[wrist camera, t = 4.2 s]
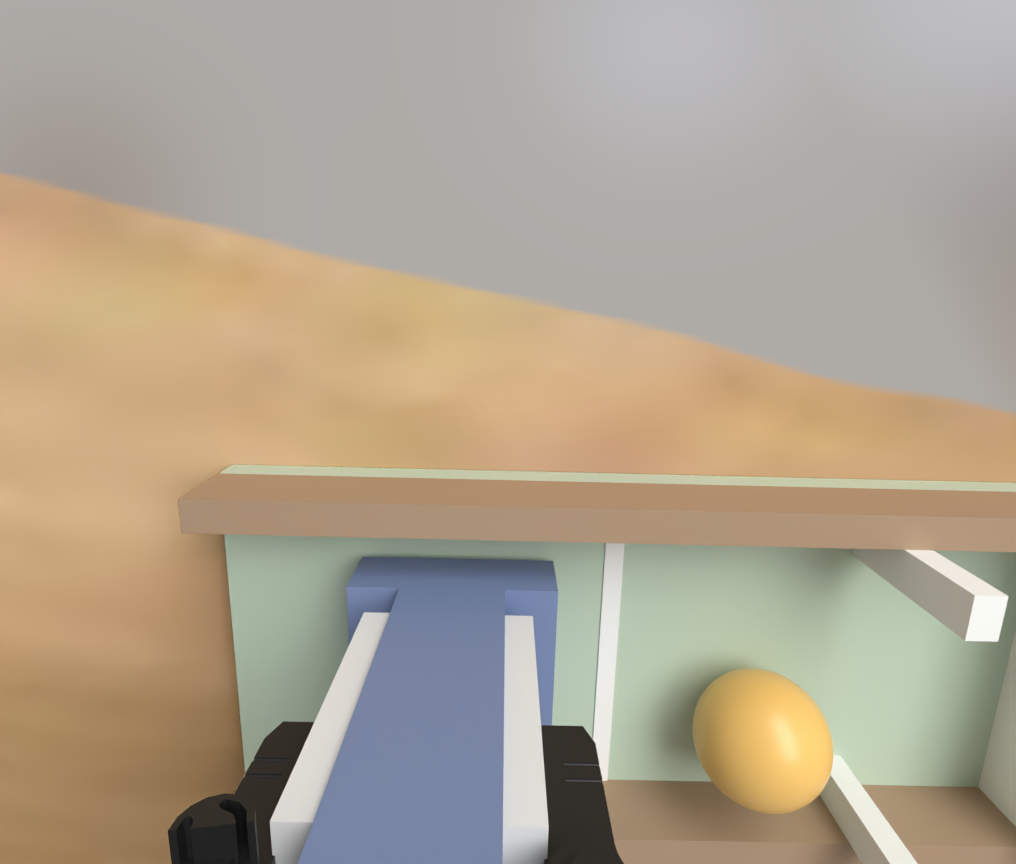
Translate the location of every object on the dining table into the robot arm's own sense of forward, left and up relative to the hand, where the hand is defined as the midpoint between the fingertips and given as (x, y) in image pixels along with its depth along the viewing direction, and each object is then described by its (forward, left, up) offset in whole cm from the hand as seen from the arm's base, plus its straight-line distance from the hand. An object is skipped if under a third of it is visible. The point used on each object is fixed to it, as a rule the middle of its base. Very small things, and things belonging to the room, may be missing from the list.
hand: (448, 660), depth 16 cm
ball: (+10, -4, -2) cm, 10 cm away
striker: (0, -2, -3) cm, 4 cm away
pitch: (+6, -2, -5) cm, 8 cm away
